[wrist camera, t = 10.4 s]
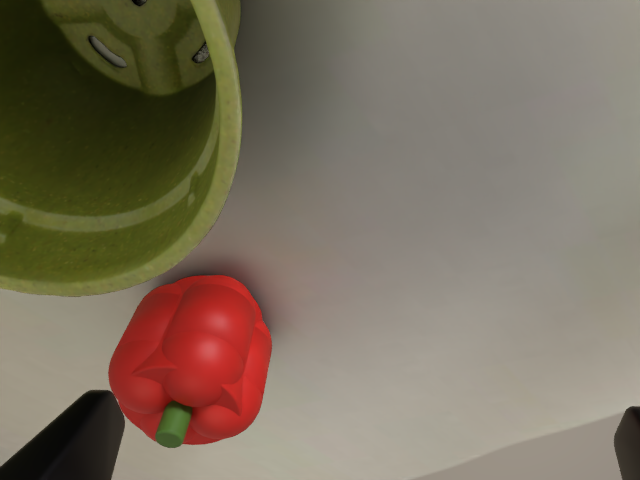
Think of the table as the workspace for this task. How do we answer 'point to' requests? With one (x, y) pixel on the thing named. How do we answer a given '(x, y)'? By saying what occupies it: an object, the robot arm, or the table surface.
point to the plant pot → (112, 139)
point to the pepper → (193, 362)
